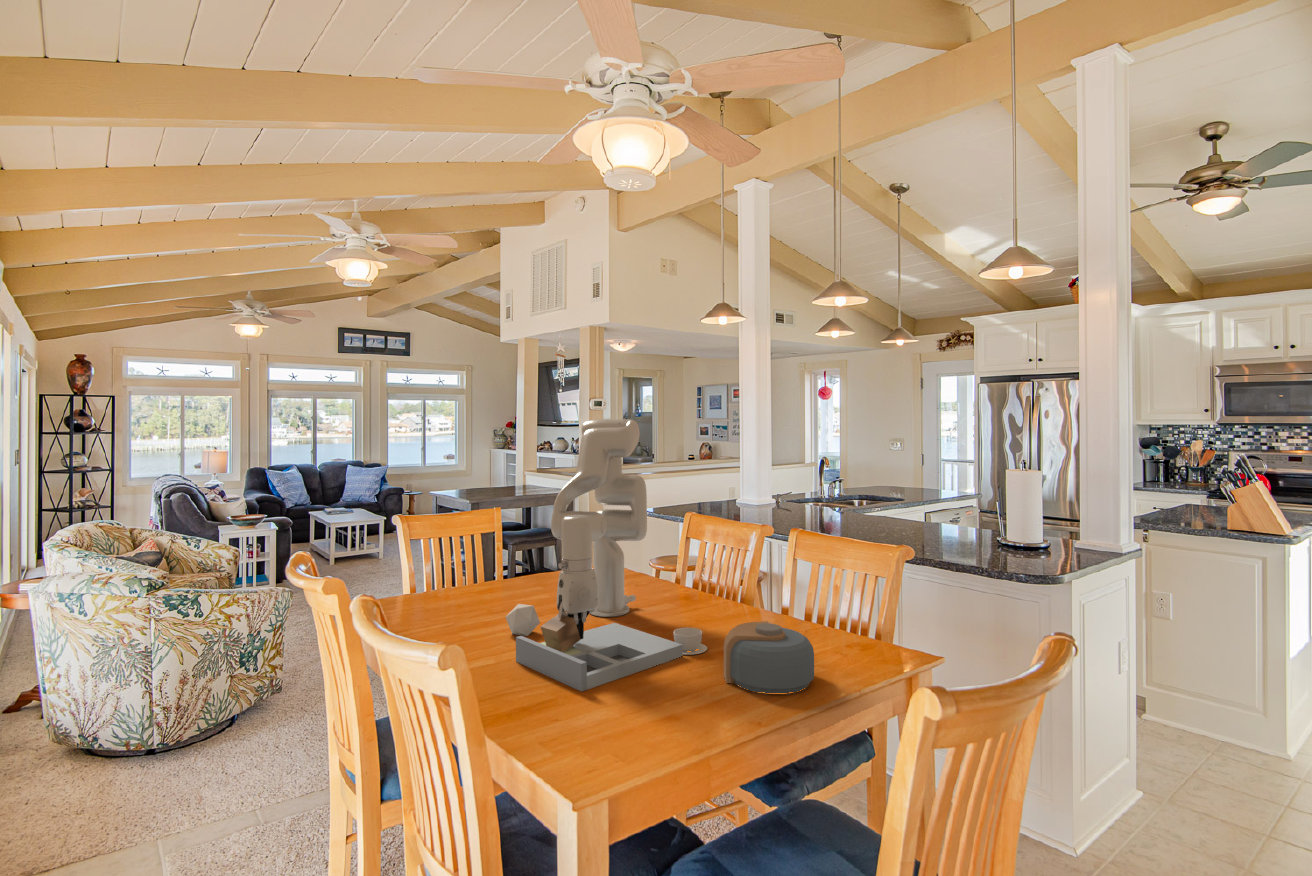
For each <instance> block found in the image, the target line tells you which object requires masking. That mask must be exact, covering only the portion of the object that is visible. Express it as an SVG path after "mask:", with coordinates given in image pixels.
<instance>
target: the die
mask: <svg viewBox="0 0 1312 876" xmlns="http://www.w3.org/2000/svg"><path fill="white" fill-rule="evenodd" d="M505 620H506V622H507V624H508V628H509V630H510V632H511V634H512V635H517V636H523V637H528V636H530V634H531V633H532V632H534V630H535V629H536V628H537V627H538V626H539V624H540V623H541V622H540V621H541V620H540V618H539V615H538V613H537V611H536V608H535V606H534V605H532V604H529V605H528V604H523V603H518V604H517V605H515V607H514V608H513V609H512V610H510V612H509V613H508V614H507V615H506V616H505Z"/></svg>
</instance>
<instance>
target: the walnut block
mask: <svg viewBox="0 0 1312 876" xmlns="http://www.w3.org/2000/svg"><path fill="white" fill-rule="evenodd" d="M540 630H541V632H542V633H541V634H542V637H543V640H544V642H545V643H546V646H548V647H550V648H553V649H555V650H558V651H560V652H563V653H564V652H565V651H566V650H568V649H569V648H570V647H572V646H573V645H574V644H576V643H577V642H578V641H580V640H581V639H580V636H579V632H578V629H577V625H576V622H575V618H572V617H568V616H567V617H566V618H564V619H562V618H559V617H558V614H556V615H554V616H553V617H551V618H550V619H549V620H548V621H546V622H545V623H544V624H542V625H540Z"/></svg>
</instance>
